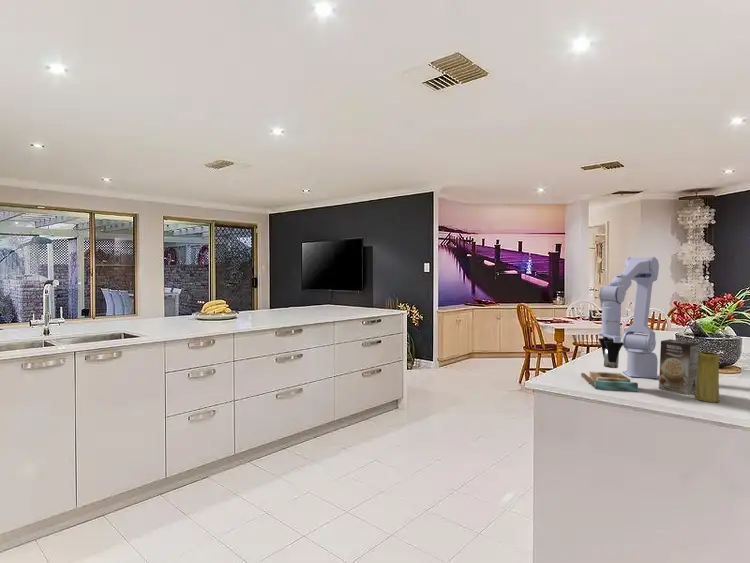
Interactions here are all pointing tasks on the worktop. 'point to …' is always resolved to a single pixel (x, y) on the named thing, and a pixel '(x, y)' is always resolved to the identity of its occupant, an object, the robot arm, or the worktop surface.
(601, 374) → the wooden tray
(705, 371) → the vase
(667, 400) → the worktop surface
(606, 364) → the cylinder
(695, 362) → the coffee box
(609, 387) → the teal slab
